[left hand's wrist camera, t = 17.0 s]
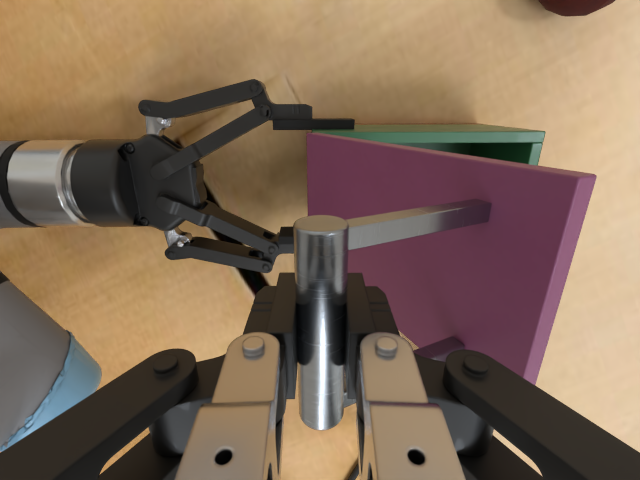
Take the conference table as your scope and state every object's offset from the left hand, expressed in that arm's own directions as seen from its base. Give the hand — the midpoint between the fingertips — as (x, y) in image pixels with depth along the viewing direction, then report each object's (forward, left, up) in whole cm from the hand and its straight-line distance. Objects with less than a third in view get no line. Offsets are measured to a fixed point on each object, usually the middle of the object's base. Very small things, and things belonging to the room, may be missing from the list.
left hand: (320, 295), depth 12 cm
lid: (+3, -3, -7) cm, 8 cm away
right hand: (+2, -2, -19) cm, 20 cm away
